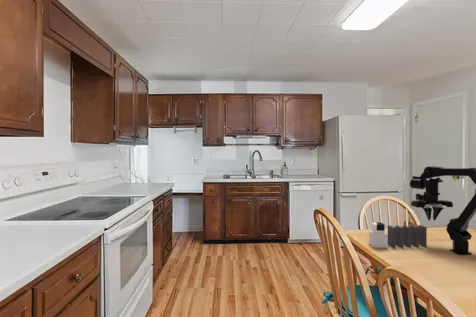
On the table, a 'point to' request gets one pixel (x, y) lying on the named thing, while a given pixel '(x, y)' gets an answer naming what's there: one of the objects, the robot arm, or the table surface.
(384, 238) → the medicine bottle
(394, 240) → the domino
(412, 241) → the domino
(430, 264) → the table surface
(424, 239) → the domino
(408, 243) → the domino
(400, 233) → the domino
